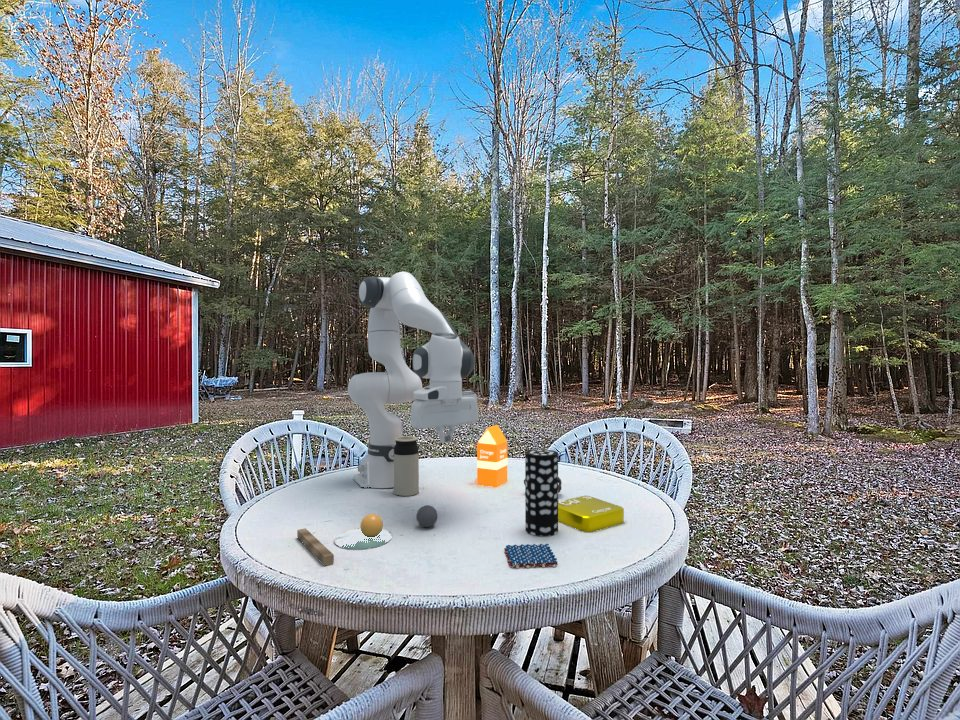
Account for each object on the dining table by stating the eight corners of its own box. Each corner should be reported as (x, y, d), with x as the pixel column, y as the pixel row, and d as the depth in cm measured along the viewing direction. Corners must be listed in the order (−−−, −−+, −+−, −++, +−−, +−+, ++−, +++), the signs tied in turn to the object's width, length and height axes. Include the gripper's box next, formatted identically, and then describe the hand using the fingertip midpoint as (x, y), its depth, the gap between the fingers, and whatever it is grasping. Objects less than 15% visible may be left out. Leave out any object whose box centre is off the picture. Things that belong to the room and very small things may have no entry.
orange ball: (372, 507, 125) (380, 525, 127) (353, 519, 122) (361, 537, 124) (381, 512, 121) (389, 531, 122) (362, 525, 118) (370, 544, 119)
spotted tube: (536, 522, 132) (536, 448, 132) (564, 529, 127) (564, 452, 126) (519, 531, 126) (518, 453, 125) (547, 539, 120) (547, 457, 120)
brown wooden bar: (297, 538, 121) (297, 530, 121) (305, 536, 122) (305, 528, 122) (324, 566, 105) (324, 556, 105) (333, 563, 106) (333, 554, 106)
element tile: (586, 535, 124) (586, 516, 124) (547, 518, 137) (547, 501, 137) (627, 524, 132) (627, 506, 132) (586, 509, 145) (586, 493, 145)
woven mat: (503, 552, 114) (503, 543, 114) (548, 550, 115) (548, 542, 115) (508, 572, 103) (508, 562, 103) (558, 570, 104) (558, 560, 104)
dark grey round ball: (429, 497, 131) (427, 512, 134) (412, 507, 128) (411, 522, 130) (442, 509, 128) (441, 524, 131) (426, 519, 124) (424, 535, 127)
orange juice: (476, 484, 170) (476, 427, 170) (488, 479, 178) (488, 424, 178) (497, 487, 167) (497, 428, 166) (507, 481, 174) (507, 425, 174)
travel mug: (416, 496, 156) (416, 440, 156) (391, 496, 156) (391, 440, 156) (420, 489, 164) (420, 436, 164) (396, 489, 164) (396, 436, 164)
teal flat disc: (325, 536, 122) (325, 535, 122) (377, 524, 131) (377, 523, 131) (346, 554, 111) (346, 553, 111) (402, 540, 119) (402, 539, 119)
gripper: (470, 389, 143) (470, 436, 143) (407, 392, 131) (407, 444, 131) (483, 390, 138) (483, 439, 138) (419, 394, 126) (419, 448, 126)
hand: (446, 442), depth 135 cm, fingers closed
